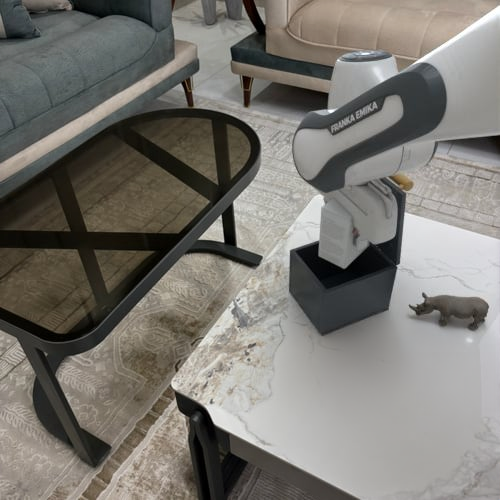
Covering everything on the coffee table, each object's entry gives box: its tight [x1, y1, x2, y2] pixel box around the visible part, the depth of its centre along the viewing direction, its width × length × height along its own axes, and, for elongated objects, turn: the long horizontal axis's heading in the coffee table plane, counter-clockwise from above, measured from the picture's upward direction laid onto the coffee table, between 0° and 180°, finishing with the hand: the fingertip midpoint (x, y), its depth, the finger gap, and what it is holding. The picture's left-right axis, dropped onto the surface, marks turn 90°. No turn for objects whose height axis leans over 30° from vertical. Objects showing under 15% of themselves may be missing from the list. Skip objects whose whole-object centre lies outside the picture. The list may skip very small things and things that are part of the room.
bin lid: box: [374, 173, 414, 267], centre depth 85 cm, size 15×12×5 cm
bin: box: [288, 239, 398, 337], centre depth 92 cm, size 14×12×11 cm
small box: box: [318, 199, 370, 269], centre depth 83 cm, size 8×6×10 cm
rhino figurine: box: [408, 291, 490, 331], centre depth 88 cm, size 4×14×6 cm, turn 79°
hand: (345, 232), depth 84 cm, fingers closed on small box, 7 cm apart
